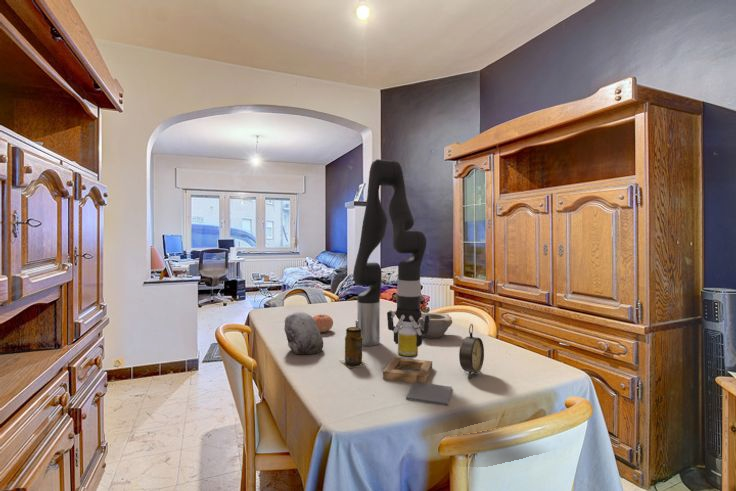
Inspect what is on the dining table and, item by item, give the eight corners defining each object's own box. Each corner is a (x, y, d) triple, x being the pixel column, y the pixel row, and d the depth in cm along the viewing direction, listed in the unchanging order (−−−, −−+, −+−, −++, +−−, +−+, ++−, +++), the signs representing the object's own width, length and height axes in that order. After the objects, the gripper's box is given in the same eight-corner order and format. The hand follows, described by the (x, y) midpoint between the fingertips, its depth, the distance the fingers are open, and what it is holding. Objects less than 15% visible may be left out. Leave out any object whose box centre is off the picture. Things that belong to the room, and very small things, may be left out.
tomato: (331, 334, 164) (331, 317, 164) (307, 334, 164) (307, 317, 164) (334, 328, 175) (334, 312, 174) (311, 328, 175) (311, 311, 174)
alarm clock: (472, 381, 112) (473, 328, 111) (455, 377, 115) (456, 326, 114) (485, 371, 120) (485, 321, 120) (469, 367, 123) (469, 319, 123)
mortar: (449, 331, 169) (450, 312, 169) (452, 342, 153) (452, 320, 153) (413, 330, 172) (413, 310, 172) (412, 340, 155) (412, 318, 155)
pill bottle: (416, 360, 115) (417, 323, 114) (396, 358, 116) (397, 322, 115) (418, 353, 121) (419, 318, 120) (398, 351, 122) (399, 317, 122)
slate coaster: (406, 399, 99) (406, 397, 99) (414, 383, 110) (414, 381, 110) (447, 405, 96) (447, 403, 96) (451, 388, 106) (451, 386, 106)
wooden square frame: (383, 378, 114) (383, 371, 113) (394, 363, 127) (394, 356, 127) (424, 384, 109) (424, 376, 109) (432, 368, 123) (432, 361, 122)
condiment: (358, 358, 133) (358, 325, 132) (368, 365, 125) (368, 330, 125) (339, 361, 130) (339, 327, 129) (349, 369, 122) (349, 333, 122)
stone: (324, 355, 136) (324, 315, 136) (284, 357, 133) (283, 316, 133) (321, 345, 148) (321, 308, 148) (284, 347, 145) (284, 309, 145)
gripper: (383, 293, 116) (383, 345, 117) (429, 297, 111) (428, 351, 112) (390, 290, 123) (389, 338, 124) (433, 293, 118) (432, 343, 119)
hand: (407, 344), depth 118 cm, fingers closed on pill bottle, 6 cm apart
